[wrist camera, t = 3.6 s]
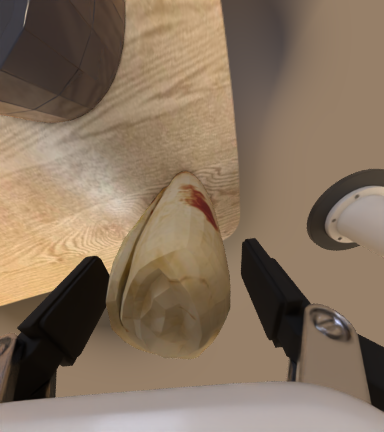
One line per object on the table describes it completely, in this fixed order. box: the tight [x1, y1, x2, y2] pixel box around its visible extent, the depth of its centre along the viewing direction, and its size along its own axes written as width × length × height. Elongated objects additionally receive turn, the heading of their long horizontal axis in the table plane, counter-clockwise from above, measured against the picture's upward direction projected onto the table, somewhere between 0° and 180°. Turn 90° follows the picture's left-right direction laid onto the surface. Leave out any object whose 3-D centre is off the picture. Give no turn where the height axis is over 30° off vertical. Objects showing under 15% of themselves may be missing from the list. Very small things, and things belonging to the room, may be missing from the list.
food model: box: [106, 171, 230, 359], centre depth 15 cm, size 10×7×20 cm
